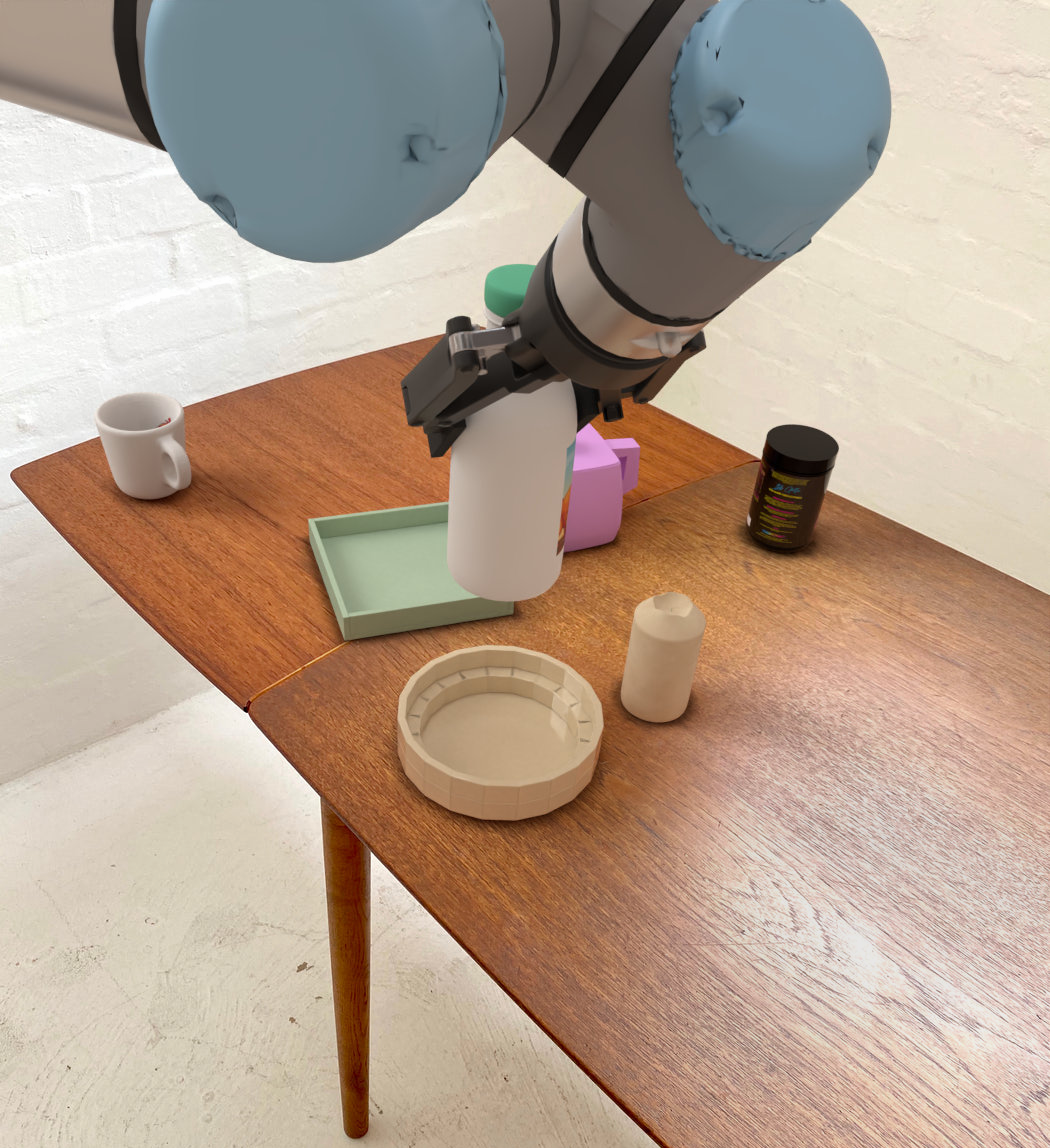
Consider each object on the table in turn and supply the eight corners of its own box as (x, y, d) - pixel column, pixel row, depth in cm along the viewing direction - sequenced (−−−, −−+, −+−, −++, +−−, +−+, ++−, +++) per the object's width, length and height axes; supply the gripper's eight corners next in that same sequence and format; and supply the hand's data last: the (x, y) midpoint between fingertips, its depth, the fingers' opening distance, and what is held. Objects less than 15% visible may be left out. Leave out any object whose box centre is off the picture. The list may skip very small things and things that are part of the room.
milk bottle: (539, 617, 71) (572, 317, 58) (428, 587, 73) (435, 287, 59) (574, 554, 77) (612, 267, 63) (470, 527, 78) (485, 240, 65)
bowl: (428, 843, 78) (429, 804, 75) (377, 701, 88) (376, 662, 85) (627, 800, 82) (635, 762, 79) (556, 669, 92) (560, 632, 90)
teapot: (474, 570, 102) (479, 473, 95) (440, 509, 109) (442, 414, 102) (651, 542, 107) (667, 448, 100) (607, 485, 114) (620, 394, 107)
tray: (344, 641, 93) (343, 617, 91) (309, 541, 103) (307, 518, 102) (513, 614, 97) (515, 591, 96) (463, 521, 108) (464, 499, 106)
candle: (670, 732, 88) (692, 634, 81) (608, 706, 89) (624, 608, 83) (697, 693, 91) (720, 596, 84) (637, 669, 93) (655, 572, 86)
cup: (228, 500, 107) (218, 426, 102) (156, 531, 103) (142, 454, 97) (164, 456, 112) (152, 383, 107) (93, 483, 108) (76, 408, 102)
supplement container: (816, 558, 107) (845, 463, 100) (747, 553, 107) (771, 457, 100) (806, 520, 112) (832, 427, 105) (739, 514, 112) (761, 421, 105)
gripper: (420, 384, 47) (348, 505, 68) (840, 348, 53) (650, 470, 74) (389, 209, 47) (327, 386, 68) (812, 192, 53) (630, 360, 74)
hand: (495, 430), depth 71 cm, fingers closed on milk bottle, 8 cm apart
